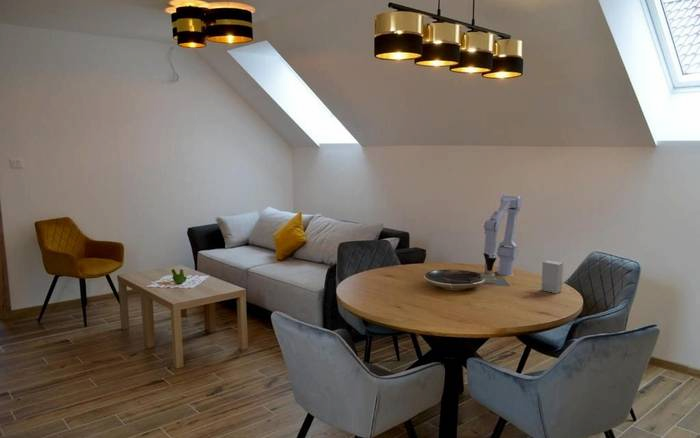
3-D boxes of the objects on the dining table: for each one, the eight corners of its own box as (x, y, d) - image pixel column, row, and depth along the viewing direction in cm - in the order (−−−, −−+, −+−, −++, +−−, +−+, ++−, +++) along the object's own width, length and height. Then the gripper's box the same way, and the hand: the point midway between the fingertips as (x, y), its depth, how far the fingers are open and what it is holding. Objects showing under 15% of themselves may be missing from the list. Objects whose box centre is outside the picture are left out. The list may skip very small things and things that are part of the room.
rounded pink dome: (483, 272, 280) (484, 263, 279) (492, 272, 279) (493, 263, 278) (484, 274, 275) (485, 264, 275) (493, 275, 275) (494, 265, 274)
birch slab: (479, 279, 282) (480, 275, 281) (493, 279, 281) (493, 276, 281) (482, 282, 275) (482, 278, 274) (495, 283, 274) (496, 279, 274)
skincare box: (561, 292, 264) (564, 262, 262) (556, 294, 260) (558, 264, 258) (545, 288, 270) (548, 259, 268) (539, 290, 266) (542, 261, 264)
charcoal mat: (466, 277, 287) (466, 276, 286) (504, 279, 285) (504, 278, 285) (470, 285, 271) (470, 284, 271) (510, 287, 269) (510, 286, 269)
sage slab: (481, 275, 281) (481, 271, 280) (492, 276, 280) (493, 272, 280) (483, 278, 275) (483, 274, 274) (495, 279, 274) (495, 275, 274)
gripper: (500, 246, 267) (498, 272, 269) (497, 241, 281) (495, 266, 283) (485, 245, 268) (484, 271, 270) (483, 240, 282) (481, 265, 284)
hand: (488, 268), depth 277 cm, fingers open, 7 cm apart
